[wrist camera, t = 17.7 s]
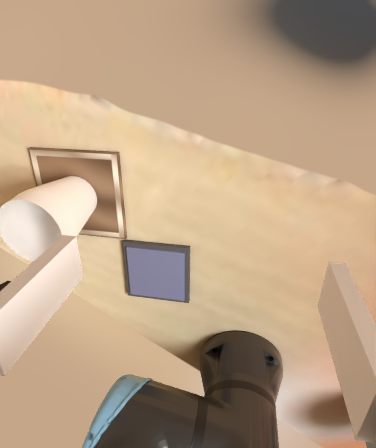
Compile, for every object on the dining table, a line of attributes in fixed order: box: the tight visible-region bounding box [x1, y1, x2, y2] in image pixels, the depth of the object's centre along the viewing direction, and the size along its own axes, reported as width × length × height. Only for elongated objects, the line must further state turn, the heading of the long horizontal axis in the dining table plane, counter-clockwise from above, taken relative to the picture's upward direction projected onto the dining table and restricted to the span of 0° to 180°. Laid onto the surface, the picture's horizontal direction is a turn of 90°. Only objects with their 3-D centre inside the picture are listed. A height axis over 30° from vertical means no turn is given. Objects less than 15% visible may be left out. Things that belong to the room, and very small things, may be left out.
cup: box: [0, 176, 97, 261], centre depth 43 cm, size 9×9×12 cm
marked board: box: [28, 147, 127, 239], centre depth 49 cm, size 14×14×1 cm
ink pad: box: [123, 240, 190, 303], centre depth 52 cm, size 11×11×1 cm
